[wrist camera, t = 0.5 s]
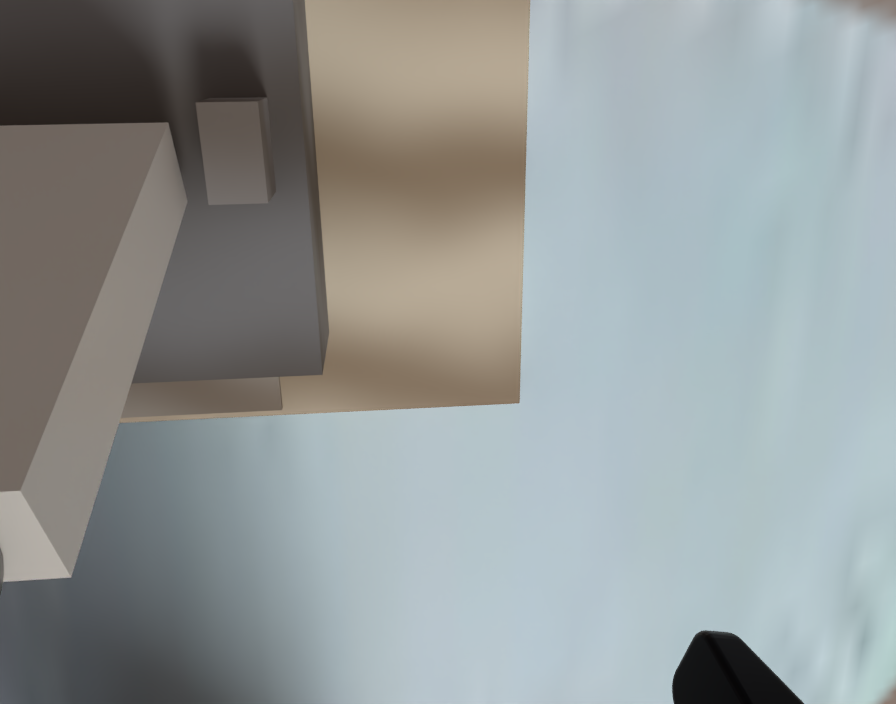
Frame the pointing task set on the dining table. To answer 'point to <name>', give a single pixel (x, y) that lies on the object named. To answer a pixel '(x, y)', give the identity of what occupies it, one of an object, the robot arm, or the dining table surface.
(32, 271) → the lever
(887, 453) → the dining table surface
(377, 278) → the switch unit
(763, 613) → the dining table surface
